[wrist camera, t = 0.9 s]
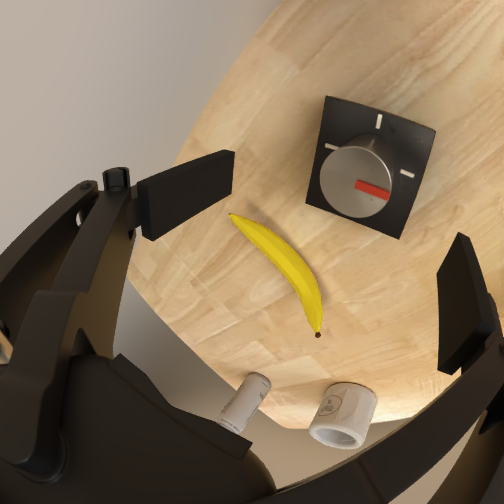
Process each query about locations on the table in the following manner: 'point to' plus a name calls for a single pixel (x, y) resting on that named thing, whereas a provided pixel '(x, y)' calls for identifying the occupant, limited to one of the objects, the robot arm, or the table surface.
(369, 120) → the stove panel
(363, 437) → the mug
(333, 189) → the stove knob
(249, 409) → the energy drink can
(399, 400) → the table surface
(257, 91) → the table surface
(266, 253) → the banana
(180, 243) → the table surface
